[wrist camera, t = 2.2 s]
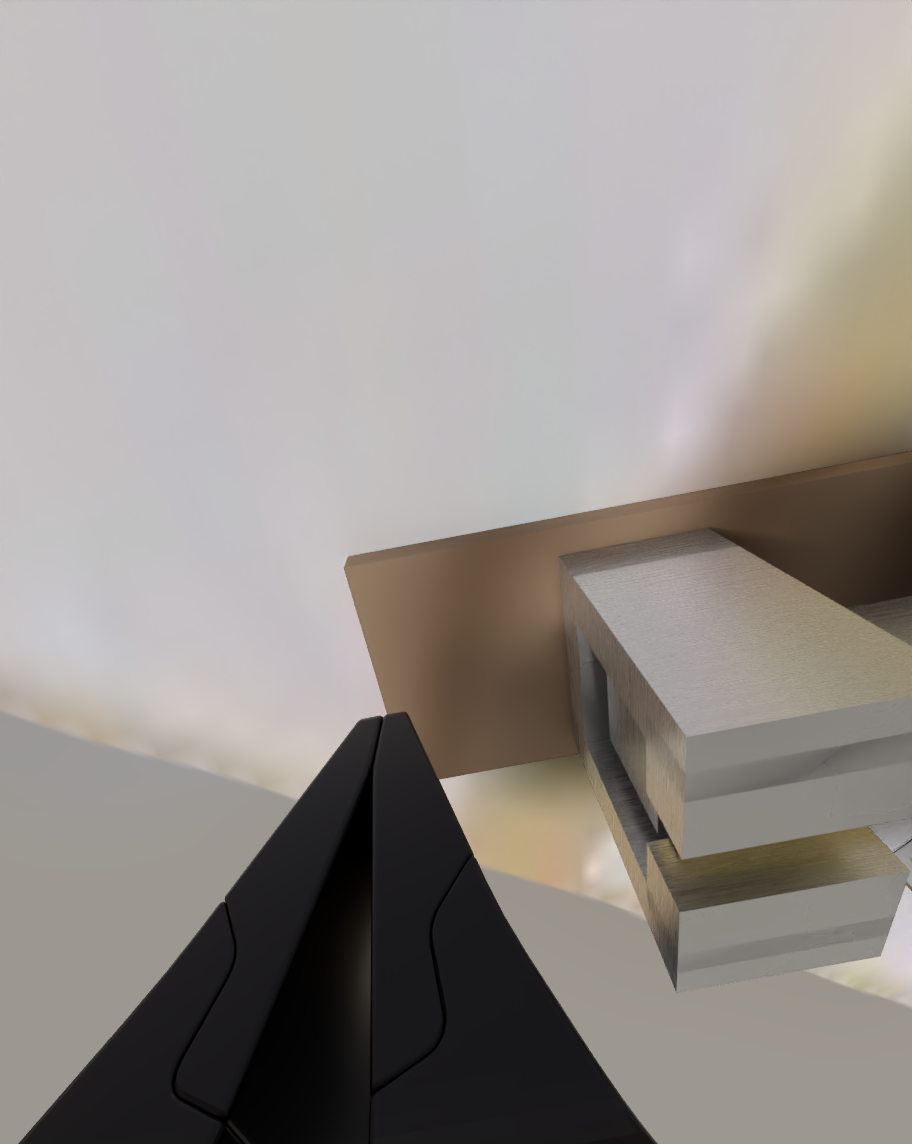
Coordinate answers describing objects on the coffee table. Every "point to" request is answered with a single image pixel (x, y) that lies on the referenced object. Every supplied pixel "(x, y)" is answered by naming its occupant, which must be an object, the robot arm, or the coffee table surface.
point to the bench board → (535, 610)
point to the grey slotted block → (742, 754)
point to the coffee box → (906, 860)
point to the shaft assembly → (895, 616)
